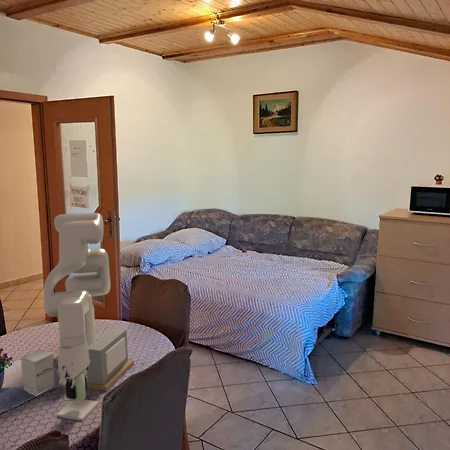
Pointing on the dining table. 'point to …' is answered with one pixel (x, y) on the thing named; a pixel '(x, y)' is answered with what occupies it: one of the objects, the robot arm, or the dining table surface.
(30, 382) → the supplement box
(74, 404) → the grey pad
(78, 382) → the sage part
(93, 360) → the box
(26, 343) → the dining table surface
